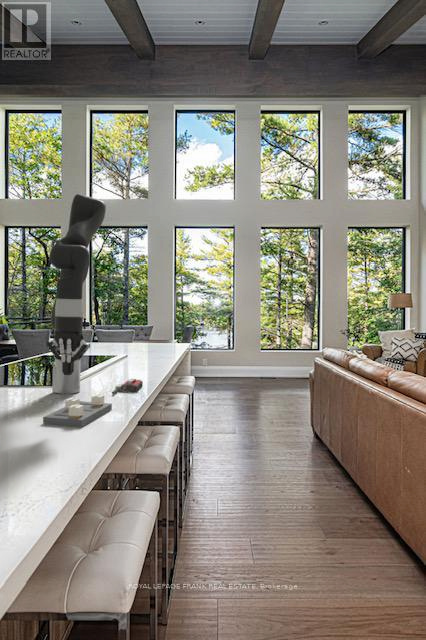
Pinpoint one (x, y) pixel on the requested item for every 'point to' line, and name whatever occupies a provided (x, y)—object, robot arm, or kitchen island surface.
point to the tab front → (76, 410)
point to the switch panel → (77, 421)
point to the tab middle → (71, 402)
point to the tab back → (97, 399)
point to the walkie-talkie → (129, 386)
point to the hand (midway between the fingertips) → (68, 374)
